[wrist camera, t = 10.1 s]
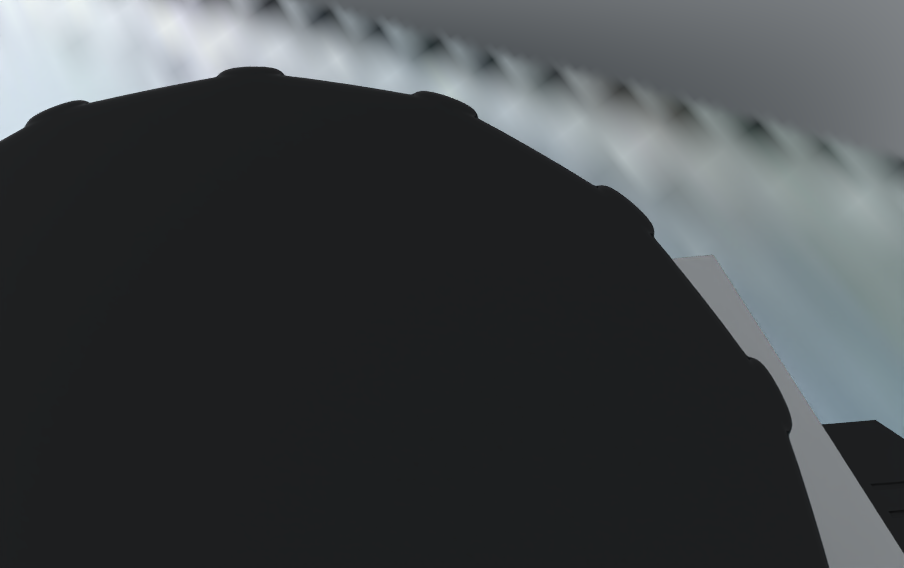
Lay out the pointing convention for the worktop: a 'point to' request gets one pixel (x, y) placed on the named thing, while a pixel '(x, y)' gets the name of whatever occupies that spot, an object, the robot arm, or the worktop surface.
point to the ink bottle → (360, 349)
